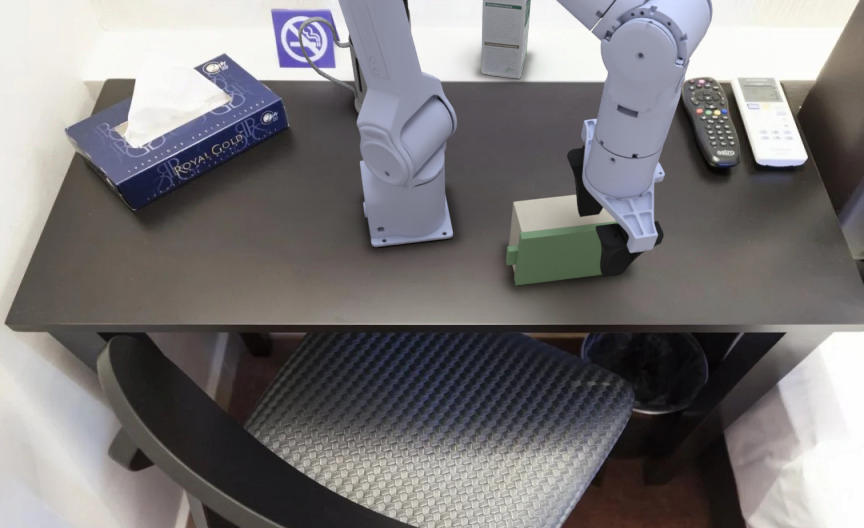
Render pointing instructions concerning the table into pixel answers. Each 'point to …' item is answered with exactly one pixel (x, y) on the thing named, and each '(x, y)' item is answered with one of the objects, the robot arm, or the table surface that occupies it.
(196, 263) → the table surface
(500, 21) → the syrup box
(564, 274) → the lunchbox
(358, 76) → the glass holder
